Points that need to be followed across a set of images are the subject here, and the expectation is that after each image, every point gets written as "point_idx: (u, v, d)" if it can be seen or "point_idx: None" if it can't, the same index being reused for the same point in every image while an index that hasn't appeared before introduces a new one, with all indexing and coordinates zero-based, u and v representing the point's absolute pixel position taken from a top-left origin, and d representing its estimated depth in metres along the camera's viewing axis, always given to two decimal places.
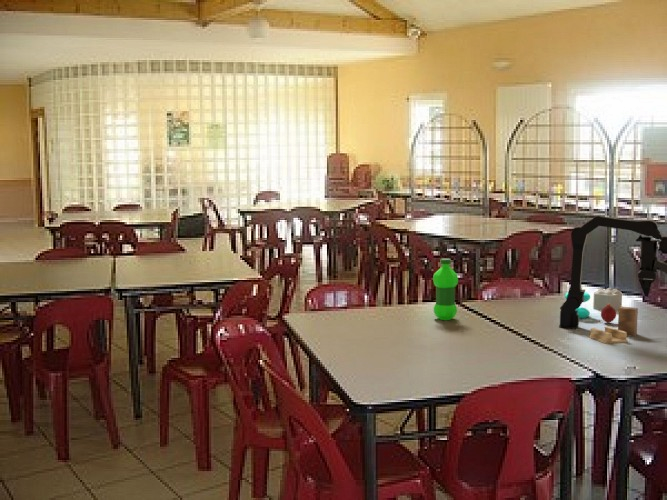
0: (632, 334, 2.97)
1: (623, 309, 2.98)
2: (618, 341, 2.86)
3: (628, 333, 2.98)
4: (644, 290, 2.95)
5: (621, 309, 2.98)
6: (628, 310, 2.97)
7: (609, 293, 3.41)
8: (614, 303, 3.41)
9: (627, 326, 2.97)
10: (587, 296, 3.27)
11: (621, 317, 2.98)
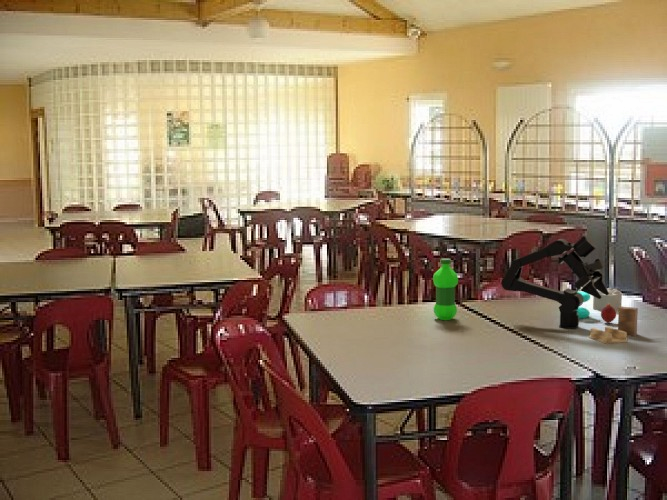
0: (632, 334, 2.97)
1: (623, 309, 2.98)
2: (618, 341, 2.86)
3: (628, 333, 2.98)
4: (594, 295, 3.00)
5: (621, 309, 2.98)
6: (628, 310, 2.97)
7: (609, 293, 3.41)
8: (614, 303, 3.41)
9: (627, 326, 2.97)
10: (587, 296, 3.27)
11: (621, 317, 2.98)
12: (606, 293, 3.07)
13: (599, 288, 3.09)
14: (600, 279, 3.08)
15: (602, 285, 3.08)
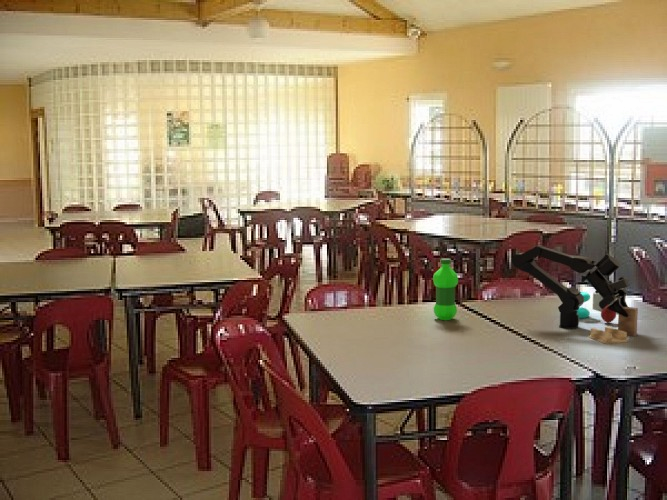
0: (632, 334, 2.97)
1: None
2: (618, 341, 2.86)
3: (628, 333, 2.98)
4: (620, 313, 2.97)
5: None
6: (628, 310, 2.97)
7: None
8: None
9: (627, 326, 2.97)
10: (587, 296, 3.27)
11: (621, 317, 2.98)
12: None
13: None
14: (622, 299, 3.02)
15: (624, 305, 3.01)
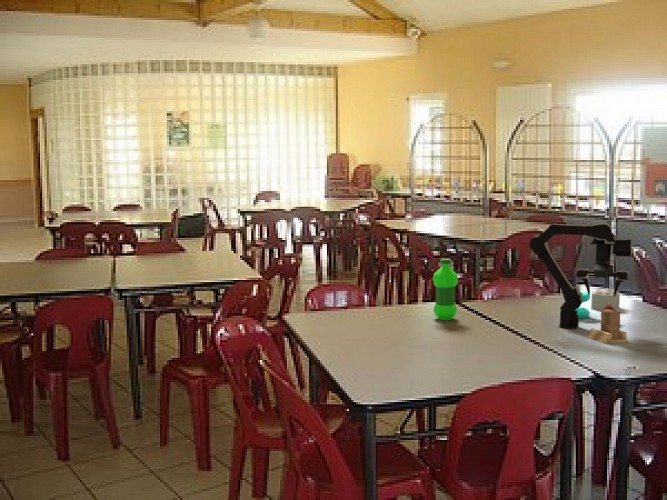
0: None
1: (604, 312, 2.89)
2: (618, 341, 2.86)
3: None
4: None
5: (603, 311, 2.90)
6: (607, 313, 2.88)
7: (607, 293, 3.41)
8: (613, 303, 3.41)
9: (607, 329, 2.88)
10: (587, 296, 3.27)
11: (603, 320, 2.90)
12: None
13: None
14: None
15: None
